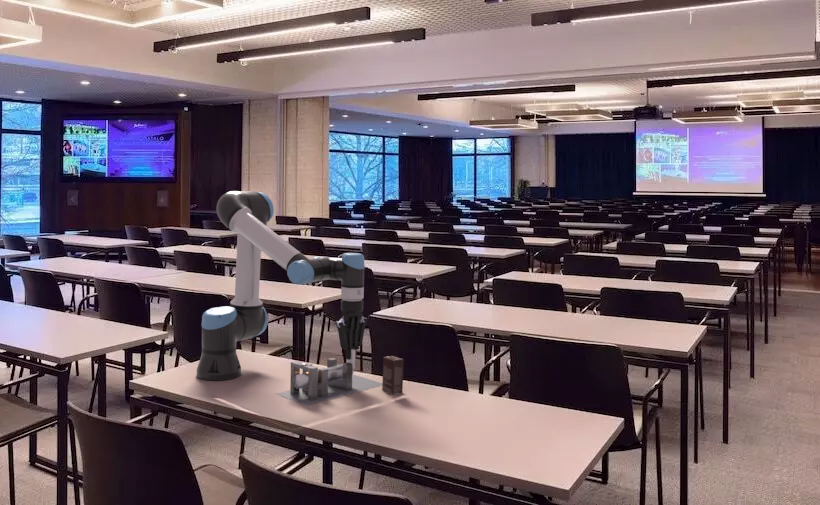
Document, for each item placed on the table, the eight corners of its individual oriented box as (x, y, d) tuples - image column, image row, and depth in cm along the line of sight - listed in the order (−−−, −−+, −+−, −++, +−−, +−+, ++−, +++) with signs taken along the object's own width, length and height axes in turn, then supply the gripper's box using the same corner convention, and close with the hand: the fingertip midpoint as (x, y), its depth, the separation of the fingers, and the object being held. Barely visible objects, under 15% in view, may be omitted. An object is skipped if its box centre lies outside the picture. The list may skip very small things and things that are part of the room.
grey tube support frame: (326, 384, 230) (327, 359, 229) (332, 383, 232) (332, 357, 231) (346, 391, 224) (347, 364, 223) (352, 389, 225) (352, 363, 224)
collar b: (302, 390, 222) (302, 364, 222) (307, 389, 224) (308, 363, 223) (321, 397, 216) (322, 370, 215) (327, 396, 218) (328, 369, 217)
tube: (292, 387, 216) (292, 373, 216) (344, 374, 232) (344, 361, 232) (301, 390, 213) (301, 376, 212) (353, 377, 229) (354, 364, 229)
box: (403, 394, 224) (404, 358, 223) (392, 397, 221) (393, 360, 220) (392, 390, 229) (393, 355, 228) (381, 392, 226) (382, 356, 225)
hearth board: (275, 396, 218) (275, 393, 218) (353, 376, 243) (353, 374, 243) (307, 408, 208) (307, 405, 208) (385, 386, 233) (385, 384, 233)
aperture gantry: (290, 393, 219) (290, 361, 218) (296, 391, 221) (296, 360, 220) (311, 400, 212) (312, 367, 211) (317, 399, 214) (318, 366, 213)
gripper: (345, 302, 221) (343, 373, 224) (374, 298, 231) (372, 367, 233) (330, 299, 226) (328, 369, 229) (358, 295, 236) (357, 362, 238)
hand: (350, 368), depth 231 cm, fingers closed
